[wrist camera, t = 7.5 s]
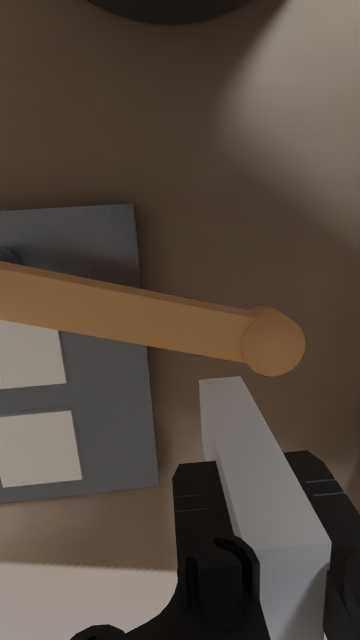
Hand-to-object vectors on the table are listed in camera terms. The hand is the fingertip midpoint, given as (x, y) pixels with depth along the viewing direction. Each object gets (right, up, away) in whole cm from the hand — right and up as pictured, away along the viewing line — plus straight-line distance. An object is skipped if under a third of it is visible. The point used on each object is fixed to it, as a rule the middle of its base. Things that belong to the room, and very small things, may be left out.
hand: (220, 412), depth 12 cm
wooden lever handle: (-3, +4, +2) cm, 5 cm away
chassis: (-10, +1, +7) cm, 12 cm away
